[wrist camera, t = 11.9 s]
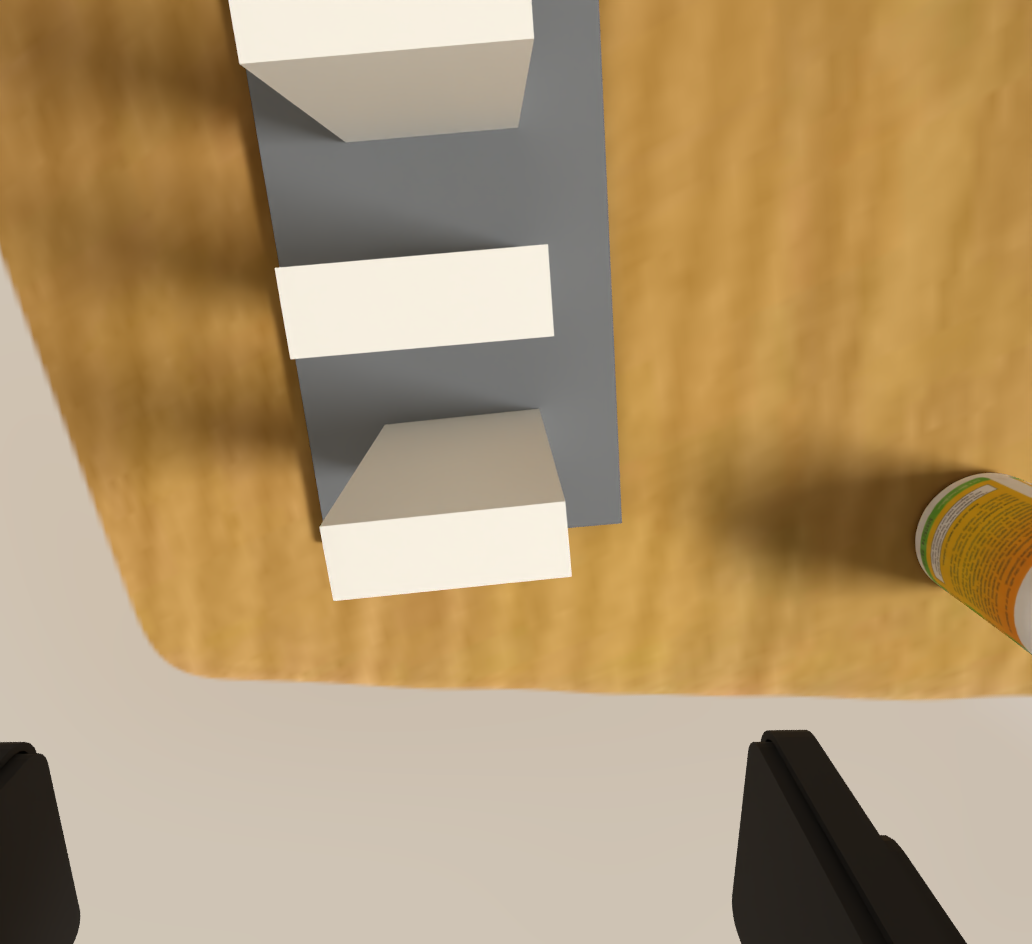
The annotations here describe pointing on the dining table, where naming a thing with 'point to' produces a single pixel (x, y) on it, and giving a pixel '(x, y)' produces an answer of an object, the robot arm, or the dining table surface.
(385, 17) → the domino
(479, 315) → the domino
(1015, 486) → the supplement bottle
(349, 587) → the domino
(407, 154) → the mat
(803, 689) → the dining table surface
